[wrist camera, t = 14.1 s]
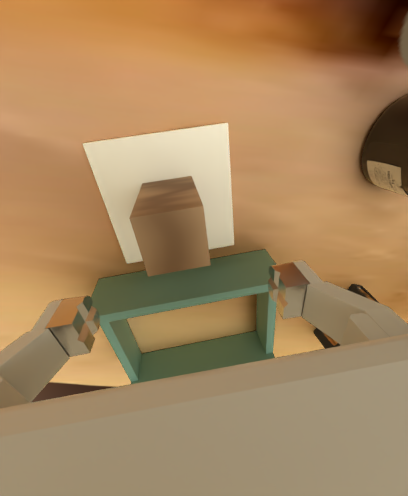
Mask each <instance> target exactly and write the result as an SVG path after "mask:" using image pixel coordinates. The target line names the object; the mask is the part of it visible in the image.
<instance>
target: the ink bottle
mask: <svg viewBox="0 0 408 496" xmlns="http://www.w3.org/2000/svg"><path fill="white" fill-rule="evenodd" d="M361 165H362V171H363V174H364V176H365V177H366V179H367V180H368V181H369V182H370V183H372V184H374V185H376V186H378V187H381V188H384V189H387V190H390V191H393V192H395V193H398V194H401V195H404V196H407V197H408V94H407V95H405V96H403V97H401V98H400V99H398V100H397V101H395V102H394V103H393V104H392V105H390V106H389V107H388V108H387V109H386V110H385V111H384V112H383V114H382V115H381V116H380V117H379V119H378V120H377V121H376V123H375V124H374V126H373V128H372V129H371V131H370V133H369V135H368V137H367V140H366V142H365V145H364V149H363V153H362V161H361Z"/></svg>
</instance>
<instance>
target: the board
mask: <svg viewBox="0 0 408 496" xmlns="http://www.w3.org/2000/svg"><path fill="white" fill-rule="evenodd" d="M83 147H84V150H85V152H86V155H87V158H88V160H89V163H90V166H91V168H92V171H93V174H94V176H95V179H96V182H97V185H98V187H99V190H100V193H101V195H102V198H103V201H104V203H105V206H106V209H107V212H108V214H109V217H110V220H111V222H112V225H113V228H114V230H115V233H116V236H117V239H118V241H119V244H120V247H121V249H122V252H123V255H124V257H125V260H126V263H127V264H129V263H135V262H140V261H143V259H142V256H141V253H140V250H139V247H138V244H137V240H136V237H135V234H134V231H133V228H132V225H131V222H130V219H129V218H130V215H131V212H132V210H133V207H134V204H135V202H136V199H137V196H138V194H139V191H140V188H141V186H142V183H148V182H154V181H161V180H167V179H174V178H180V177H187V176H192V179H193V181H194V184H195V186H196V189H197V191H198V194H199V196H200V199H201V201H202V204H203V207H204V215H205V223H206V231H207V239H208V247H209V249H214V248H220V247H226V246H231V245H234V227H233V208H232V189H231V171H230V152H229V133H228V123H219V124H212V125H205V126H198V127H191V128H184V129H177V130H170V131H163V132H156V133H149V134H142V135H135V136H128V137H120V138H113V139H106V140H99V141H92V142H86V143H83Z"/></svg>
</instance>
